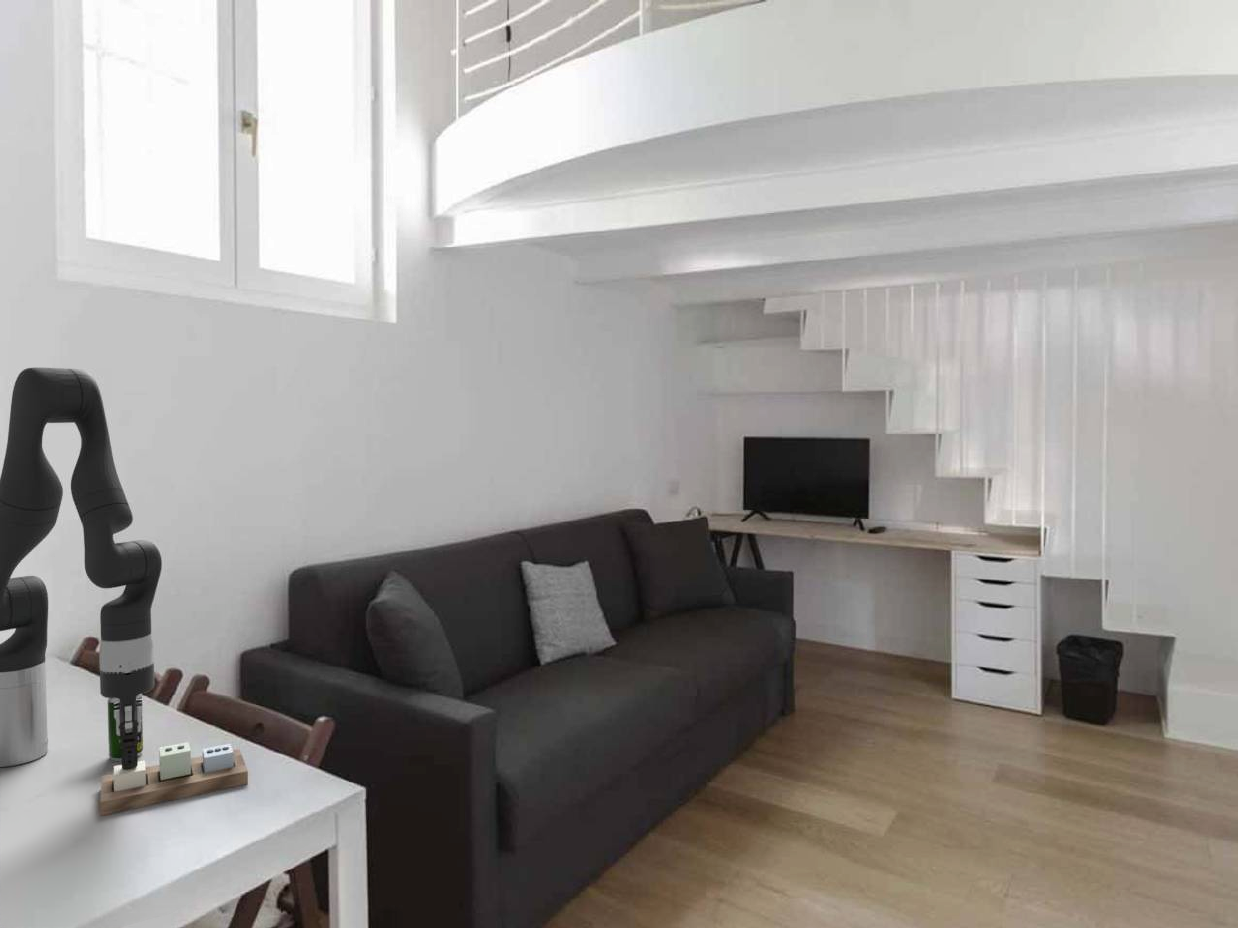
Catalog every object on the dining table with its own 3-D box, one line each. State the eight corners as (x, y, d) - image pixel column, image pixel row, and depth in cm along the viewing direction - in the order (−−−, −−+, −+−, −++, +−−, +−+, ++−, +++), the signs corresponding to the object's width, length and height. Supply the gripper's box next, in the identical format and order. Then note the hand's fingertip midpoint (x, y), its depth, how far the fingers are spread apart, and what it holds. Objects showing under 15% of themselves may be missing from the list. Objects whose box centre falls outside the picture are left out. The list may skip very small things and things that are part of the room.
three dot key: (205, 780, 132) (204, 756, 132) (202, 771, 136) (202, 747, 136) (233, 774, 135) (233, 750, 135) (230, 765, 138) (230, 742, 138)
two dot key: (160, 780, 129) (160, 755, 129) (159, 770, 132) (159, 746, 132) (190, 773, 131) (190, 749, 131) (189, 764, 135) (188, 740, 135)
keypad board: (100, 815, 122) (100, 802, 122) (102, 788, 131) (101, 775, 131) (247, 783, 133) (247, 770, 133) (239, 760, 142) (239, 748, 142)
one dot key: (114, 800, 125) (113, 774, 125) (114, 789, 129) (113, 764, 129) (146, 793, 128) (145, 768, 128) (145, 783, 131) (144, 758, 131)
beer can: (109, 764, 140) (107, 699, 140) (108, 754, 145) (107, 690, 144) (143, 757, 143) (142, 693, 143) (142, 747, 148) (141, 685, 147)
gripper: (100, 657, 131) (103, 758, 132) (98, 677, 120) (101, 788, 121) (152, 650, 135) (154, 748, 136) (155, 669, 124) (157, 776, 125)
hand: (129, 766), depth 128 cm, fingers closed
